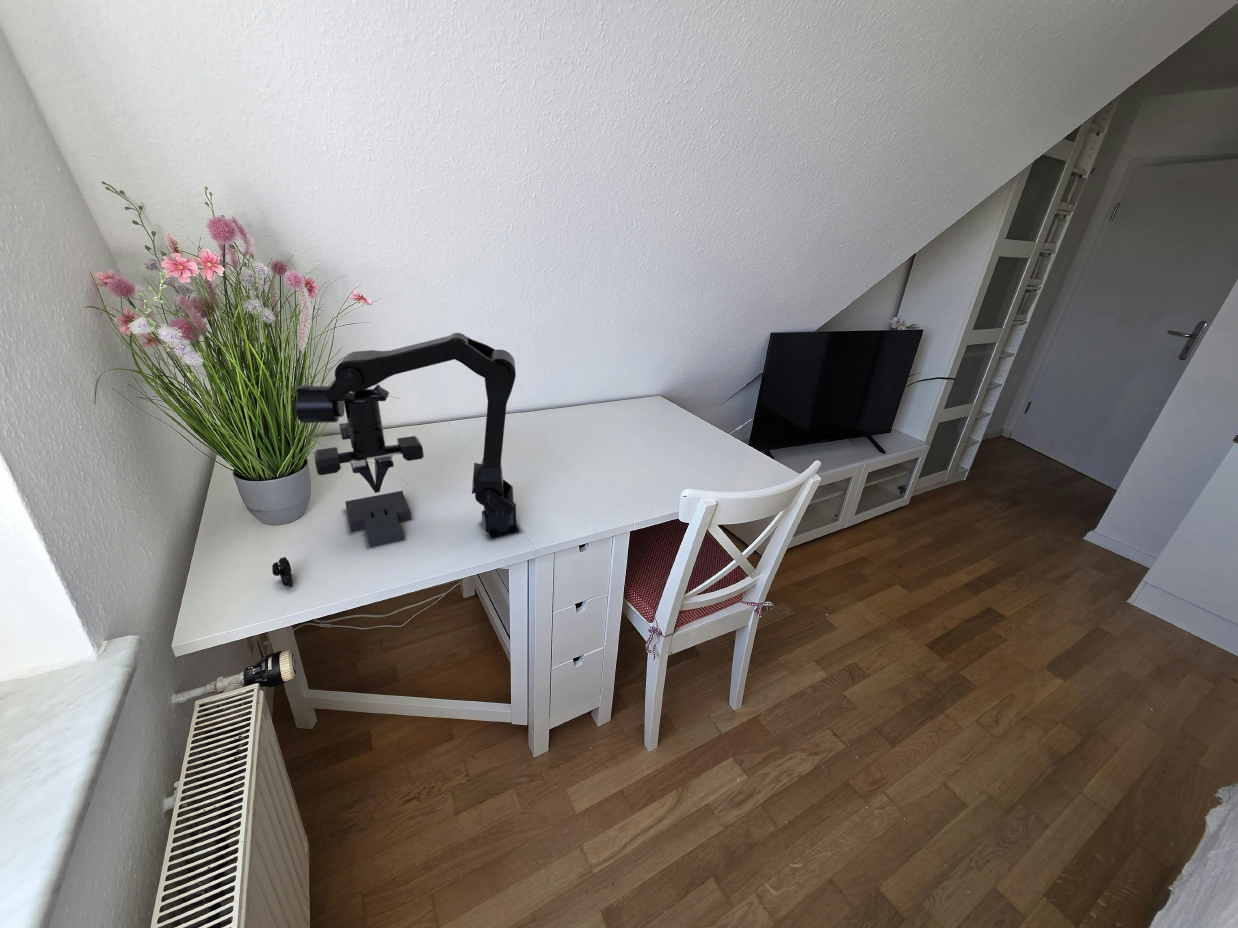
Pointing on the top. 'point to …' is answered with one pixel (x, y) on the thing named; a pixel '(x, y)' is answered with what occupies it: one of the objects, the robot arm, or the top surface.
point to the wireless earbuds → (283, 571)
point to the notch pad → (376, 508)
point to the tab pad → (383, 529)
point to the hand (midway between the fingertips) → (376, 491)
